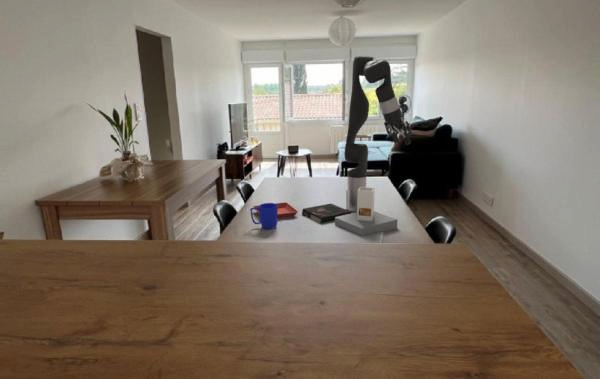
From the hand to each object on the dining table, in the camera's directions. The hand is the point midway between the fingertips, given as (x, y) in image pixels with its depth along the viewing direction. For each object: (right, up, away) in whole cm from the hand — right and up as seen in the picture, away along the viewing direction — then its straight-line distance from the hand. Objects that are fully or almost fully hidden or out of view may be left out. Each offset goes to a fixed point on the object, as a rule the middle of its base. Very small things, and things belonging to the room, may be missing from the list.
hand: (402, 143), depth 163 cm
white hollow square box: (-16, -33, 0) cm, 37 cm away
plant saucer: (-57, -33, +22) cm, 69 cm away
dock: (-16, -37, +1) cm, 40 cm away
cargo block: (-16, -32, 0) cm, 36 cm away
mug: (-60, -37, +3) cm, 71 cm away
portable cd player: (-32, -34, +15) cm, 49 cm away
